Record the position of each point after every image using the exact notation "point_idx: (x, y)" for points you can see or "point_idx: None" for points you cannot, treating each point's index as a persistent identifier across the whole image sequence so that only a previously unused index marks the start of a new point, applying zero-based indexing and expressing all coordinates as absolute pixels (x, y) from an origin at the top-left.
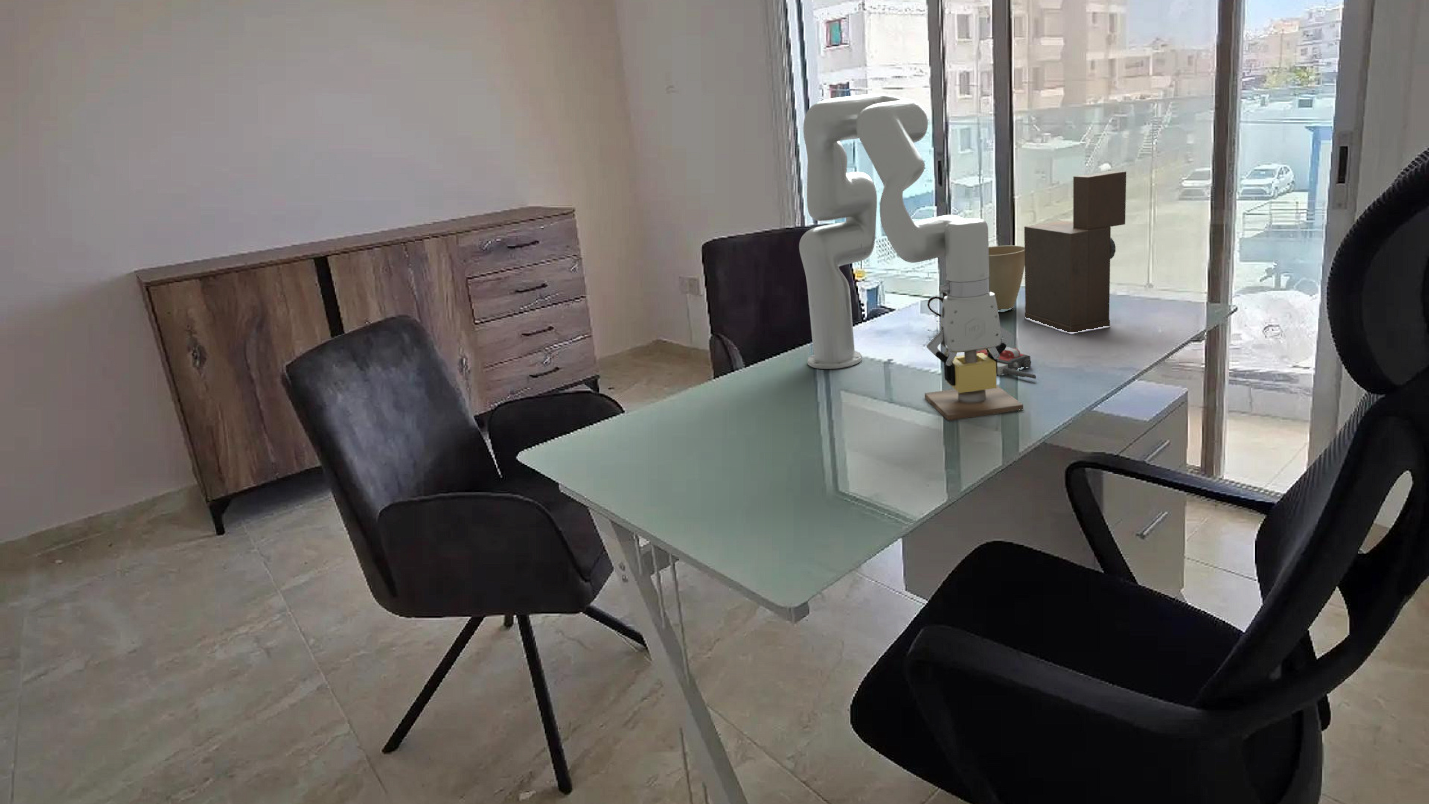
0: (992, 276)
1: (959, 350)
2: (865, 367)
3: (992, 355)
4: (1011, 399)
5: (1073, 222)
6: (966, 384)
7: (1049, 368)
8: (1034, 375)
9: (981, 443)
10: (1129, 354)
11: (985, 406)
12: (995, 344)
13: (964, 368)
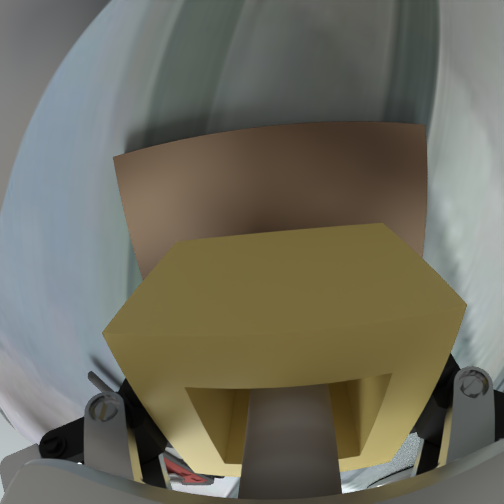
0: None
1: (497, 462)
2: (383, 472)
3: (125, 420)
4: (141, 227)
5: None
6: (356, 242)
7: (84, 404)
8: (88, 376)
9: None
10: (12, 383)
11: (256, 172)
12: (42, 472)
13: (413, 301)
